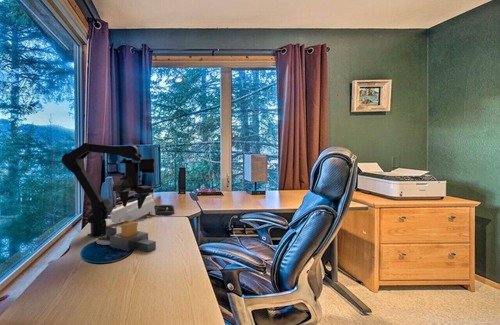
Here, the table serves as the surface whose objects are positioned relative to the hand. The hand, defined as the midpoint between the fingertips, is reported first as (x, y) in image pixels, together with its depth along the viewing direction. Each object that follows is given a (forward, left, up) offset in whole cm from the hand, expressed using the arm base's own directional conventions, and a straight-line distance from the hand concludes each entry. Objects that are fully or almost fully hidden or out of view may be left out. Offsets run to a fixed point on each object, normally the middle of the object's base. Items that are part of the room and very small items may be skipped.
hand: (132, 207), depth 129 cm
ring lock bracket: (+10, -12, -12) cm, 20 cm away
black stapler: (-22, +35, -12) cm, 43 cm away
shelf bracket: (-19, +19, -12) cm, 30 cm away
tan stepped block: (+12, -12, -12) cm, 21 cm away
